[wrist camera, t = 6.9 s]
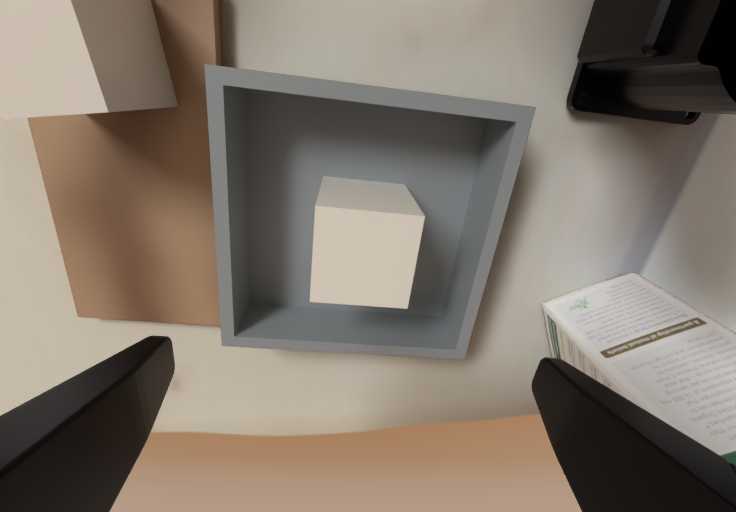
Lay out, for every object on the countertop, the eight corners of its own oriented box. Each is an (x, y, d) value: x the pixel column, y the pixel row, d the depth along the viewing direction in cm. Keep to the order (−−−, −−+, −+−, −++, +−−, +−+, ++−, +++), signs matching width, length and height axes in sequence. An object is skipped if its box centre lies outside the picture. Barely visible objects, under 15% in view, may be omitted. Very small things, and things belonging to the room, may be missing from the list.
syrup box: (537, 301, 22) (833, 624, 9) (636, 267, 21) (1119, 558, 8) (552, 368, 24) (804, 704, 11) (642, 339, 23) (1023, 658, 10)
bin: (499, 104, 17) (535, 107, 14) (446, 319, 22) (464, 359, 19) (234, 69, 16) (204, 63, 12) (241, 306, 21) (222, 345, 17)
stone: (404, 184, 18) (425, 216, 13) (393, 257, 19) (407, 308, 15) (323, 176, 17) (315, 205, 13) (318, 251, 19) (309, 301, 14)
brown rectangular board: (218, -12, 15) (212, -18, 14) (233, 318, 21) (229, 326, 20) (3, -44, 14) (-16, -52, 13) (87, 308, 20) (78, 316, 20)
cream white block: (149, -6, 14) (53, -53, 9) (178, 106, 16) (108, 112, 11) (44, 0, 14) (-106, -46, 9) (84, 112, 15) (-26, 120, 11)
